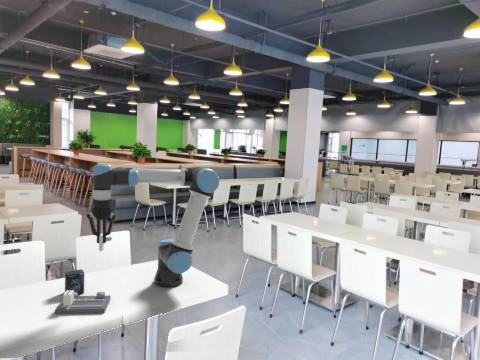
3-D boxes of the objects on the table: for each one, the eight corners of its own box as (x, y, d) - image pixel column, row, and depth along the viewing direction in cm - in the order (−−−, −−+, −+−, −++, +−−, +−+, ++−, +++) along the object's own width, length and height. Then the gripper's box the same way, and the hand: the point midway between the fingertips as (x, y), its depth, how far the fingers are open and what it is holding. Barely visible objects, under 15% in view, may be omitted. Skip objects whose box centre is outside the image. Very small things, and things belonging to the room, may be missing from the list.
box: (66, 296, 176) (66, 274, 176) (64, 292, 181) (64, 271, 180) (84, 293, 181) (84, 272, 180) (82, 289, 186) (82, 268, 185)
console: (110, 299, 175) (110, 291, 175) (104, 313, 161) (104, 304, 161) (65, 300, 172) (65, 291, 172) (54, 314, 158) (54, 305, 158)
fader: (73, 301, 166) (73, 289, 166) (70, 306, 162) (70, 294, 161) (66, 301, 166) (66, 290, 166) (63, 306, 161) (63, 294, 161)
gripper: (118, 198, 173) (117, 247, 175) (89, 197, 171) (88, 247, 173) (115, 200, 166) (114, 252, 168) (84, 199, 164) (84, 252, 166)
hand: (101, 250), depth 171 cm, fingers closed
